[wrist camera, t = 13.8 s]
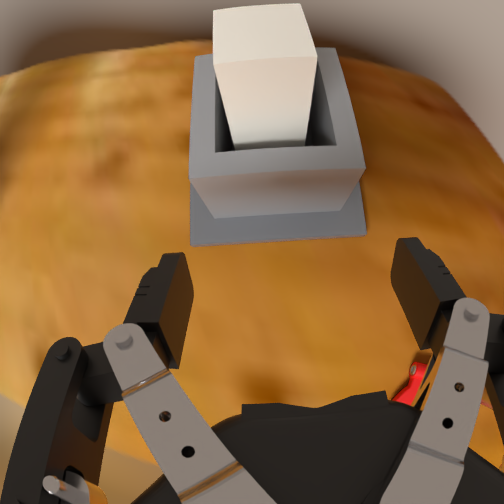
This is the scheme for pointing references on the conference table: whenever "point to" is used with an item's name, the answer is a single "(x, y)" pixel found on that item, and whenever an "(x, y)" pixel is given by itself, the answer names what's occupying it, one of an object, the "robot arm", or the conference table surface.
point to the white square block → (264, 73)
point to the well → (275, 169)
